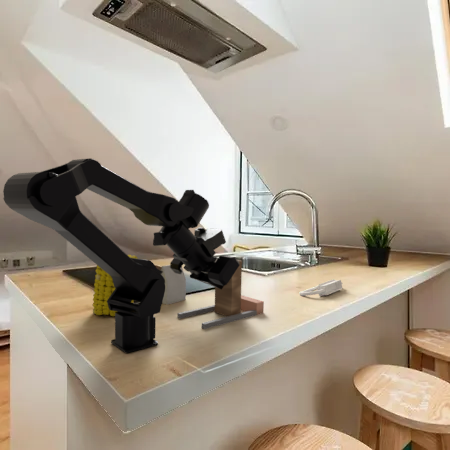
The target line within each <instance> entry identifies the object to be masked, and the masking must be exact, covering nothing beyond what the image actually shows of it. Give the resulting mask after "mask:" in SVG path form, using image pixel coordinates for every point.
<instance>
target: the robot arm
mask: <svg viewBox="0 0 450 450" xmlns="http://www.w3.org/2000/svg"><path fill="white" fill-rule="evenodd" d="M85 190H88V191H91V192H93V193H95V194H97V195H99V196H101V197H103V198H105V199H108V200H109V201H111V202H114V203H116V204H118V205H120V206H121V207H124V208H126V209H128V210H130V211H131V212H132V213H133V215H134V217H135V218H136V219H137V220H139V221H140V222H141V223H143V224H144V225H145V226H149V227H161V228H160V229H159V231H158V232H157V231H156V232H153V239H152V245H153V247H159V246H167V247H168V248H169V249H170V250H171V252H172V253H173V255H172V257H173V259H172V260H171V261H170V263H169V265H170V268H171V269H172V270H173V271H174V273H177V274H182V270H181V269H180V268H181V267H182V269H183V270H184V271H186V272H189V273H190V274H189V279H193V280H195V281H198V282H200V283H202V284H206V285H208V286H210V287H213V288H215V287H216V288H218V289H222V288H223V287H224V286H225V285H227V283H228V282H229V280H230V279H231V277H232V276H233V274H234V273H235V271H236V270H237V268H238V267H239V266H240V264H239V262H238V260H239V259H237V258H236V257H235V256H230V255H219V257H217V256H215V255H216V253H217V252H216V251H215V250H216V249H218V248H220V247H221V246H222V245H225V244H226V243H227V241H226V237H225V235H224V232H223V229H221V228H206V229H205V228H204V227H198V226H199V224H200V223H201V221H202V219H203V218H204V216H205V214H206V213H207V212H208V209H209V208H210V203H209V201H208V200H207V199H206V198H205V197H203V196H202V195H201V194H199V193H196V191H195V190H194V189H185V191H184V192H183V194H182V197H181V198H180V199H179V200H177V198H175V197H173V196H168V195H166V194H162V193H157V192H151V191H148V190H146V189H144V188H142V187H141V186H139V185H137V184H135V183H133V182H132V181H130V180H128V179H126V178H124V177H123V176H121V175H120V174H117V173H115V172H114V171H112V170H111V169H109V168H107V167H106V166H103V165H102V164H101V162H99V161H98V160H96V159H94V158H81V159H72V160H71V161H69V162H65V163H64V164H61V165H58V166H55V167H52V168H49V169H46V170H41V171H36V172H35V171H33V172H19V173H16V174H13V175H12V176H10V177H9V178H8V179H7V181H6V182H5V184H4V185H3V191H2V193H3V198H2V199H3V201H4V203H5V205H6V206H8V208H9V209H10V210H12V211H14V212H15V213H17V214H19V215H21V216H23V217H25V218H26V219H28V220H31V221H33V222H36V223H38V224H40V225H43V226H45V227H47V228H50V229H52V230H54V231H55V232H56V233H58V234H59V235H60V236H61V237H62V238H64V239H65V240H66V241H67V242H68V243H69V244H71V245H72V246H74V248H76V249H77V250H78V251H80V253H82V254H83V255H84V256H86V257H87V258H88V259H89V260H91V261H92V262H93V263H94V264H95V265H96V266H97V265H98V266H99V267H100V268H102V269H103V270H104V271H105V272H106V273H108V274H109V275H110V276H111V277H112V279H113V284H114V287H115V290H114V291H113V293H112V294H111V296H110V297H109V298H108V300H107V303H108V307H109V310H111V311H117V312H115V316H114V339H111V341H110V343H111V344H112V345H113V346H115V347H116V348H118V349H119V350H121V352H123V353H125V354H130V353H134V352H137V351H139V350H140V351H141V350H143V349H144V350H145V349H148V348H151V347H154V346H157V345H159V342H158V340H155V338H156V321H157V320H156V317H155V315H157V314H159V313H160V312H161V309H162V305H163V303H162V301H163V297H164V293H165V279H164V277H163V276H162V275H161V273H163V271H161V269H158V268H157V266H156V265H155V264H154V262H153V261H151V260H149V259H143V258H138V257H137V258H138V259H137V258H130V257H129V256H128V255H129V254H127V253H126V252H125V251H124V250H123V249H122V248H120V247H119V246H118V245H117V244H116V243H115V242H114V241H113V240H112V239H111V238H110V237H109V236H108V235H107V234H105V233H104V232H103V231H102V230H101V229H100V228H99V227H98V226H97V225H95V224H94V223H93V221H92V220H90V219H89V218H88V217H87V216H86V215H85V214H84V213H83V212H82V211H81V209H80V207H79V203H78V200H77V196H79V195H80V194H82V193H83V192H84V191H85ZM194 228H195V229H194ZM190 229H194V233H193V232H192V231H191V230H190ZM132 300H133V301H135V302H133V303H132V302H131V301H132ZM136 302H139V303H136Z"/></svg>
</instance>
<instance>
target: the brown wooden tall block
mask: <svg viewBox="0 0 450 450" xmlns="http://www.w3.org/2000/svg"><path fill="white" fill-rule="evenodd" d="M237 260H238V262H239V264H240V266H239V267H238V268H237V270H236V271H235V273H234V274H233V276H232V277H231V279H230V280H229V282H228V283H227V285H225V286H224V287H223V288H222V289H218V288H216V287H214V305H215V311H214V313H217V314H219V315H222V316H224V317H227V316H231V315H235V314H239V313H242V310H241V295H242V277H243V276H242V269H243V267H242V266H243V262H242V261H243V260H240V259H237Z"/></svg>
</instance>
